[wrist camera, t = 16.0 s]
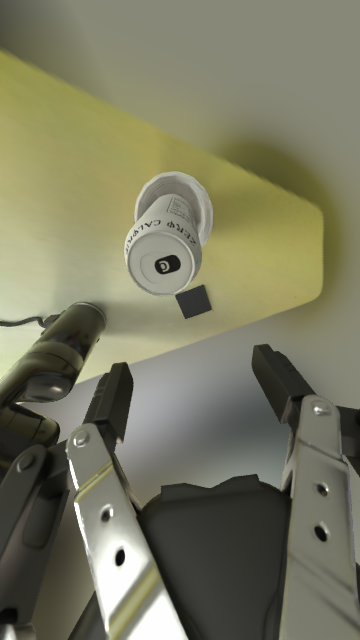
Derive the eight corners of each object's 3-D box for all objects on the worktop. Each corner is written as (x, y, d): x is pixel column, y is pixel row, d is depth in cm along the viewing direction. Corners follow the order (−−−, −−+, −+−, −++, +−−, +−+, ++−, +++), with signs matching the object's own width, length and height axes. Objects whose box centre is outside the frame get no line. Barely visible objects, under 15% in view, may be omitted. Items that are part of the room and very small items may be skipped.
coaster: (185, 318, 47) (185, 319, 47) (175, 295, 43) (175, 296, 43) (211, 309, 46) (211, 310, 46) (203, 284, 42) (203, 285, 42)
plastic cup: (135, 230, 36) (122, 241, 25) (157, 167, 31) (152, 149, 21) (184, 256, 39) (189, 274, 29) (211, 202, 34) (230, 201, 24)
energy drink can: (141, 203, 23) (100, 238, 12) (187, 185, 22) (190, 205, 10) (159, 249, 27) (141, 310, 15) (199, 235, 26) (211, 291, 14)
